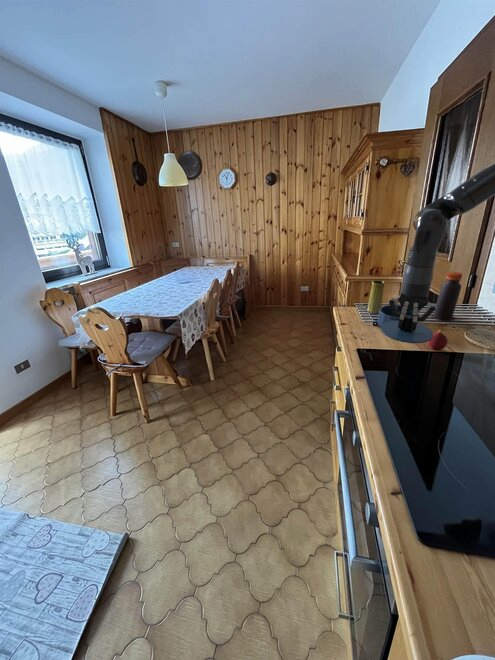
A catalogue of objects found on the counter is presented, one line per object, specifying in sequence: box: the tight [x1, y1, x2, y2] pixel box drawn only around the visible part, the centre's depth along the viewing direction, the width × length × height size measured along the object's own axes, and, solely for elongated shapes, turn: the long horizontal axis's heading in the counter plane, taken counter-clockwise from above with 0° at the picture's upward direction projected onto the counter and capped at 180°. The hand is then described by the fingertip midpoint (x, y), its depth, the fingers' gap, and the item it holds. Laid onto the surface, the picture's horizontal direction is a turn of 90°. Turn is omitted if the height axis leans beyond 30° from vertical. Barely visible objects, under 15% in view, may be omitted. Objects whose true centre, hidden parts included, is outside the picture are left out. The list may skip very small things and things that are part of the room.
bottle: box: [433, 271, 463, 322], centre depth 119 cm, size 7×7×20 cm
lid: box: [380, 315, 434, 344], centre depth 92 cm, size 15×15×6 cm
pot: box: [377, 304, 413, 328], centre depth 119 cm, size 14×20×6 cm
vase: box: [366, 279, 385, 314], centre depth 131 cm, size 6×6×14 cm
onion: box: [427, 329, 449, 351], centre depth 100 cm, size 6×6×8 cm
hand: (406, 329), depth 93 cm, fingers closed on lid, 2 cm apart
